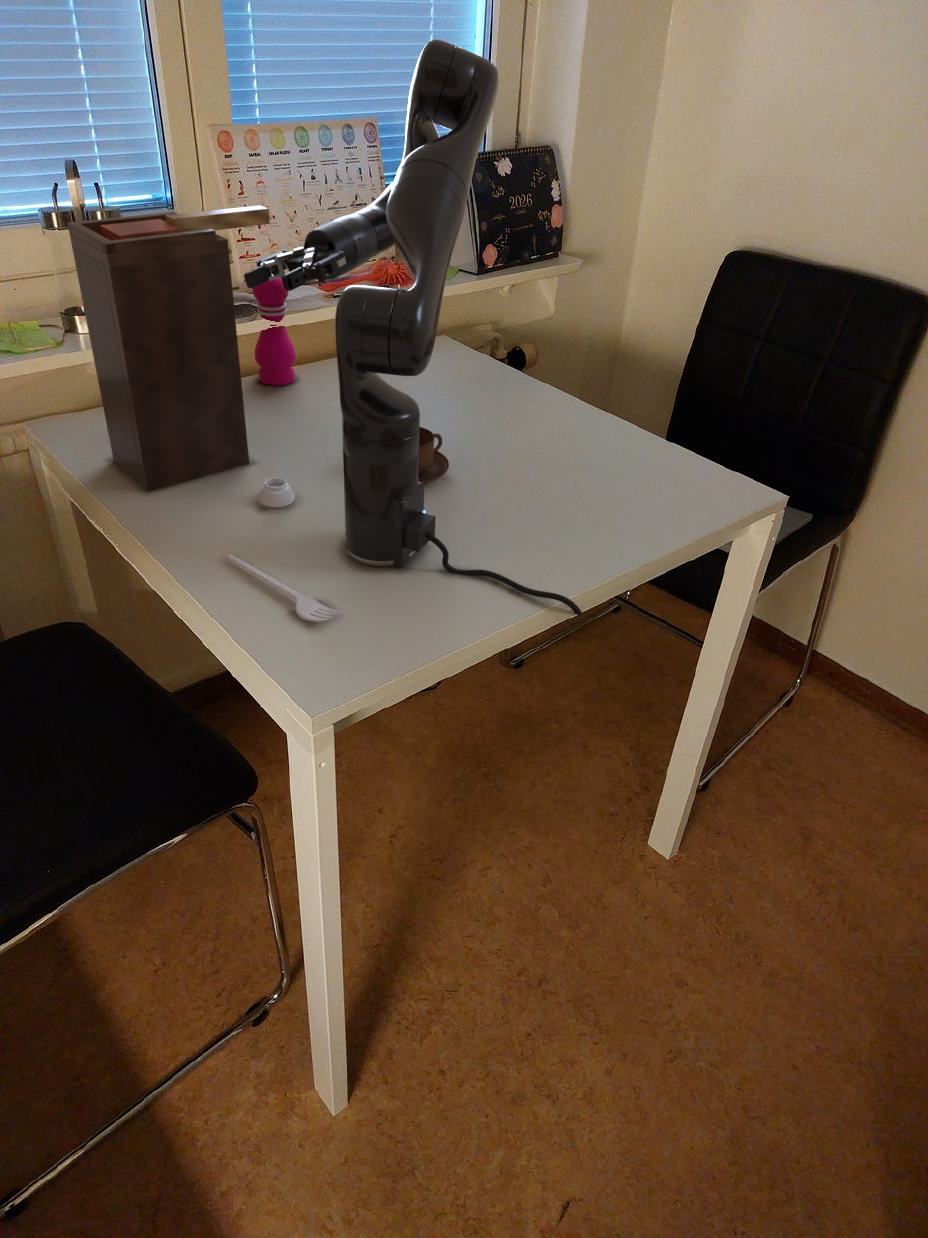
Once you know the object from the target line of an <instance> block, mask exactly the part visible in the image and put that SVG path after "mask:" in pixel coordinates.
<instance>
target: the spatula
mask: <svg viewBox="0 0 928 1238" xmlns="http://www.w3.org/2000/svg"><path fill="white" fill-rule="evenodd" d="M165 219H166V222H165V221H163V220H160V219H155V220H145V221H136V222H127V223H117V224H108V225H100V228H101V234H102V235H103V236H104V237H106V238H108V239H110V240H121V239H129V238H138V237H146V236H155V235H163V234H172V233H180V232H189V231H197V230H206V229H212V230H215V231H223V230H231V229H239V228H248V227H255V226H266V225H270V224H271V221H270V208H268V207H266V206H263V205H260V204H257V205H249V206H239V207H231V208H221V209H211V210H203V211H202V210H201V211H193V212H184V213H183V212H182V213H177V214H172V215H165Z"/></svg>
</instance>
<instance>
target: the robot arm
mask: <svg viewBox="0 0 928 1238" xmlns="http://www.w3.org/2000/svg"><path fill="white" fill-rule="evenodd" d="M499 85H500V76H499V70H498V69H497V67H496V66H495V64H493V63H492V62H491V61H490V60H488V59H486V58H485V57H483V56H480V55H478V54H476V53H474V52H472V51H470V50H468V49H465V48H462V47H460V46H458V45H456V44H453V43H450V42H448V41H444V40H441V39H435V38H434V39H431V40H429V41H428V42H427V43H426V44H425V45H424V46H423V49H422V51H421V52H420V55H419V56H418V60H417V62H416V66H415V68H414V72H413V76H412V80H411V83H410V88H409V94H408V102H407V112H406V113H407V114H406V121H405V135H404V136H405V139H404V150H403V156H402V159H401V162H400V165H399V166H398V168H397V171H396V174H395V177H394V180H393V181H392V182H391V183H390V184H389V185H388V186H387V187H386V188H385V189H384V191H383V192H382V193H381V194H380V195H379V196H378V197H377V198H376V199H375V200H374V201H372V203H370V204H369V205H368V206H366V207H364V208H361V209H360V210H357V211H355V212H353V213H351V214H346V215H343V216H340V217H338V218H336V219H333V220H331V221H329V222H327V223H325V224H322V225H320V226H318V227H316V228H314V229H312V230H310V231H309V232H308V233H307V234H306V236H305V239H304V245H303V246H300V247H295V248H293V249H292V250H291V251H289V250H288V249H281V250H280V251H277V252H275V253H273V254H271V255H268V256H266V257H264V258H261V259H259V260H257V261H256V262H255V265H256V267H255V268H253V269H251V270H249V271H246V272H245V273H244V274H243V278H244V281H245V284H246V287H247V288H248V289H253V288H255V287H257V286H259V285H261V284H263V283H265V282H267V281H271V280H273V279H276V278H281V279H282V282H283V285H284V288H285V290H286V291H288V292H292V291H293V290H295V289H297V288H300V287H301V286H304V285H306V284H313V283H315V282H316V281H317V282H318V283H324V282H326V281H332V280H335V279H338V278H339V277H341V276H343V275H345V274H347V273H349V272H351V271H353V270H355V269H357V268H359V267H361V266H362V265H364V264H366V263H367V262H368V261H370V260H371V259H373V258H375V257H376V256H378V255H381V254H382V253H385V252H386V251H388V250H390V249H391V248H393V247H394V246H396V248H397V250H398V252H399V254H400V255H401V257H402V259H403V260H404V262H405V264H406V266H407V268H408V271H409V273H410V276H411V279H412V281H413V282H412V283H413V285H412V287H410V288H409V289H402V288H393V287H386V286H385V287H383V286H375V285H365V284H351V285H348V286H346V287H345V288H344V289H343V290H342V291H341V293H340V295H339V298H338V301H337V302H336V303H337V304H336V309H335V313H334V314H335V315H334V340H335V350H336V351H335V354H336V363H337V365H336V366H337V373H338V374H337V375H338V376H337V377H338V387H339V389H338V390H339V407H340V412H341V430H342V431H341V433H342V460H343V461H342V464H343V466H342V467H343V468H342V469H343V497H344V498H343V500H344V501H343V502H344V528H345V533H344V537H345V540H344V550H345V553H346V555H347V556H348V557H349V558H350V559H351V560H352V561H353V562H355V563H357V564H360V565H364V566H366V567H372V568H397V569H403V568H404V567H405V566H406V565H407V564H408V563H409V562H410V561H411V560H412V559H413V558H414V557H415V556H416V555H417V554H418V553H419V552H421V551H422V549H424V548H425V546H426V545H428V543H429V542H431V543H433V544H434V545H435V546H436V547H437V548H438V549H439V550H440V552H441V553H442V560H441V564H442V567H443V568H444V569H445V570H446V572H448V573H451V574H453V575H461V576H471V577H472V576H473V577H477V576H479V577H488V578H490V579H494V580H495V581H499V582H501V583H503V584H505V585H506V586H508V587H510V588H513V589H514V590H516V591H519V592H521V593H523V594H526V595H528V596H533V597H537V598H543V599H550V600H554V601H558V602H560V603H563V604H564V605H565V606H568V607H569V609H571V610H572V611H573V612H574V614H575V615H576V616H583V614H584V613H583V612H582V610H581V608H580V607H579V606H578V605H577V604H576V603H575V602H574V601H572V599H569V598H568V597H567V596H565V595H562V594H558V593H554V592H551V591H550V592H549V591H544V590H542V591H541V590H537V589H533V588H529V587H526V586H524V585H522V584H520V583H517V582H516V581H515V580H512V579H510V578H508V577H506V576H504V575H503V574H502V575H501V574H499V573H496V572H494V571H490V570H487V569H458V568H455V567H453V566H452V565H450V563H449V555H450V554H449V551H448V549H447V546H446V545H445V544H444V543H443V542H442V541H441V540H440V539H439V538H437V537H436V522H437V521H436V518H437V516H436V515H433V514H430V513H426V510H425V484H424V483H422V482H418V465H419V428H420V427H421V411H420V407H419V405H418V402H417V401H416V400H415V399H414V398H413V397H411V396H410V395H409V394H407V393H405V392H403V391H401V390H399V389H397V388H395V387H394V386H392V385H390V384H389V383H388V382H386V381H385V380H384V379H383V378H382V377H380V376H379V374H381V375H388V376H389V375H390V376H398V377H399V376H400V377H416V376H419V375H421V374H422V373H423V372H425V370H426V368H427V367H428V366H429V363H430V361H431V358H432V355H433V352H434V348H435V343H436V338H437V333H438V327H439V322H440V315H441V310H442V305H443V299H444V294H445V293H444V292H445V287H446V282H447V276H448V272H449V268H450V264H451V261H452V257H453V253H454V250H455V246H456V243H457V240H458V237H459V233H460V230H461V228H462V223H463V220H464V216H465V212H466V208H467V205H468V199H469V195H470V189H471V186H472V181H473V176H474V171H475V167H476V162H477V158H478V155H479V151H480V149H481V146H482V143H483V140H484V137H485V135H486V132H487V128H488V125H489V123H490V119H491V117H492V114H493V111H494V108H495V104H496V100H497V96H498V92H499ZM436 125H438V126H441V127H442V128H444V129H448V130H450V131H449V132H447V133H445V134H443V135H440V134H439V133H440V132H438V130H437V127H436ZM270 268H271V269H270ZM286 270H288V272H285V271H286Z"/></svg>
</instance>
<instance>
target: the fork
mask: <svg viewBox="0 0 928 1238" xmlns="http://www.w3.org/2000/svg"><path fill="white" fill-rule="evenodd" d="M227 560H228V561H229V562H231V563H232V564H234V565H236V566H237V567H239V568H240V569H242V570H244V571H245V572H247V573H248V574H250V575H252V576H253V577H254V578H256V579H258V580H260V581H261V582H263V583H265V585H268V586H269V587H271V588H272V589H274V590H276V591H277V592H279V593H281V594H282V595H284V596H285V597H287V598H289V599H290V600H292V601H293V602H294V603H295V613H296V615H297V617H299V618H300V619H302V620H304V621H308V622H314V623H320V622H326V621H329V620H331V619H332V618H335V617H336V616H338V615H340V614H341V613H344V612H345V611H344V610H339V609H335V608H331V607H328V606H325V604H324V605H323V604H322V603H320V602H319V601H317V600H316V599H314V598H311V597H310V596H306V595H303V594H301V593H299V592H297V591H296V590H294V589H292V588H291V587H289V586H287V585H285V584H283V583H282V582H281V581H279V580H277V579H275V578H273V577H271V576H270V575H268V574H266V573H265V572H263V571H261V570H260V569H258V568H257V567H254V566H252V565H251V564H249V563H248V562H246V561H244V560H242V559H241V558H239V557H237V556H235V555H234V554H230V555H228V557H227Z"/></svg>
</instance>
